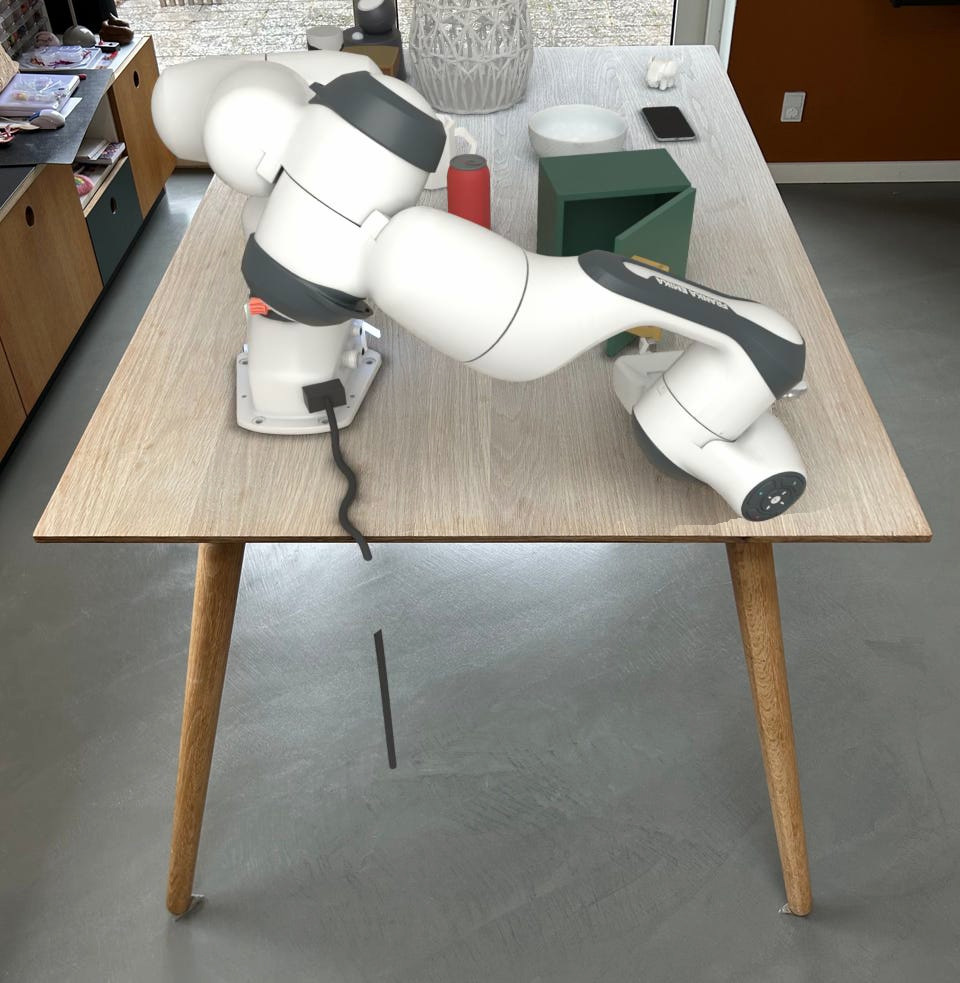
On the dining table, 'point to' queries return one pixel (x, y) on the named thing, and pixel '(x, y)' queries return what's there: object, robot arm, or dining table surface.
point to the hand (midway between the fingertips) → (683, 338)
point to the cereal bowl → (576, 130)
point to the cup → (325, 38)
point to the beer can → (469, 189)
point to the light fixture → (376, 29)
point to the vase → (472, 88)
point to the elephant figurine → (660, 72)
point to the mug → (449, 151)
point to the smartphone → (668, 123)
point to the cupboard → (600, 197)
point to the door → (657, 252)
